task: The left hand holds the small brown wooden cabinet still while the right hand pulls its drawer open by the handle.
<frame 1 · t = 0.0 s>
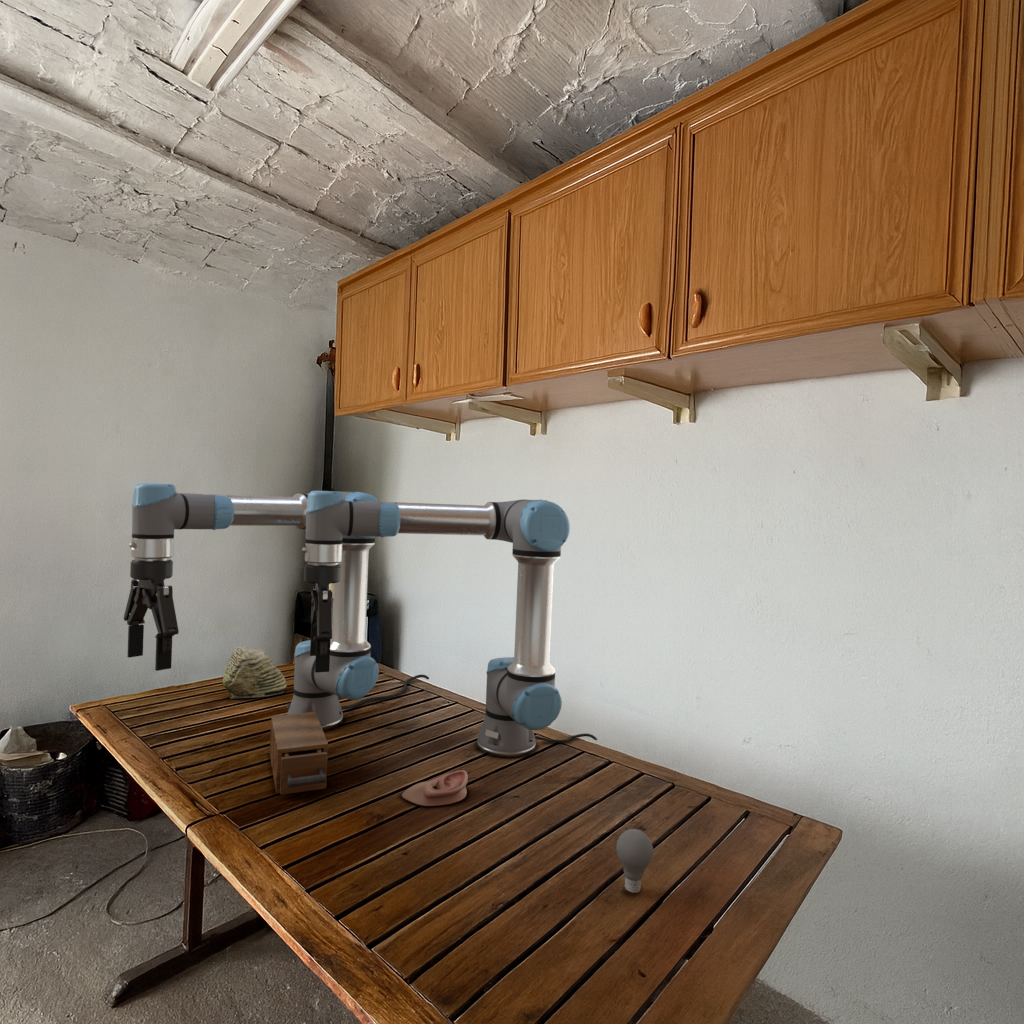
left hand: (148, 662, 129), 28 cm above the table, tool pointing down, fingers open, 13 cm apart
right hand: (319, 663, 134), 28 cm above the table, tool pointing down, fingers open, 13 cm apart
fossil: (254, 694, 198), on the table
drawer: (300, 760, 140), point 5 cm above the table, slide at 1.8 cm
anatomical model: (435, 795, 137), on the table
cabinet: (296, 769, 146), on the table
light bulb: (632, 891, 106), on the table
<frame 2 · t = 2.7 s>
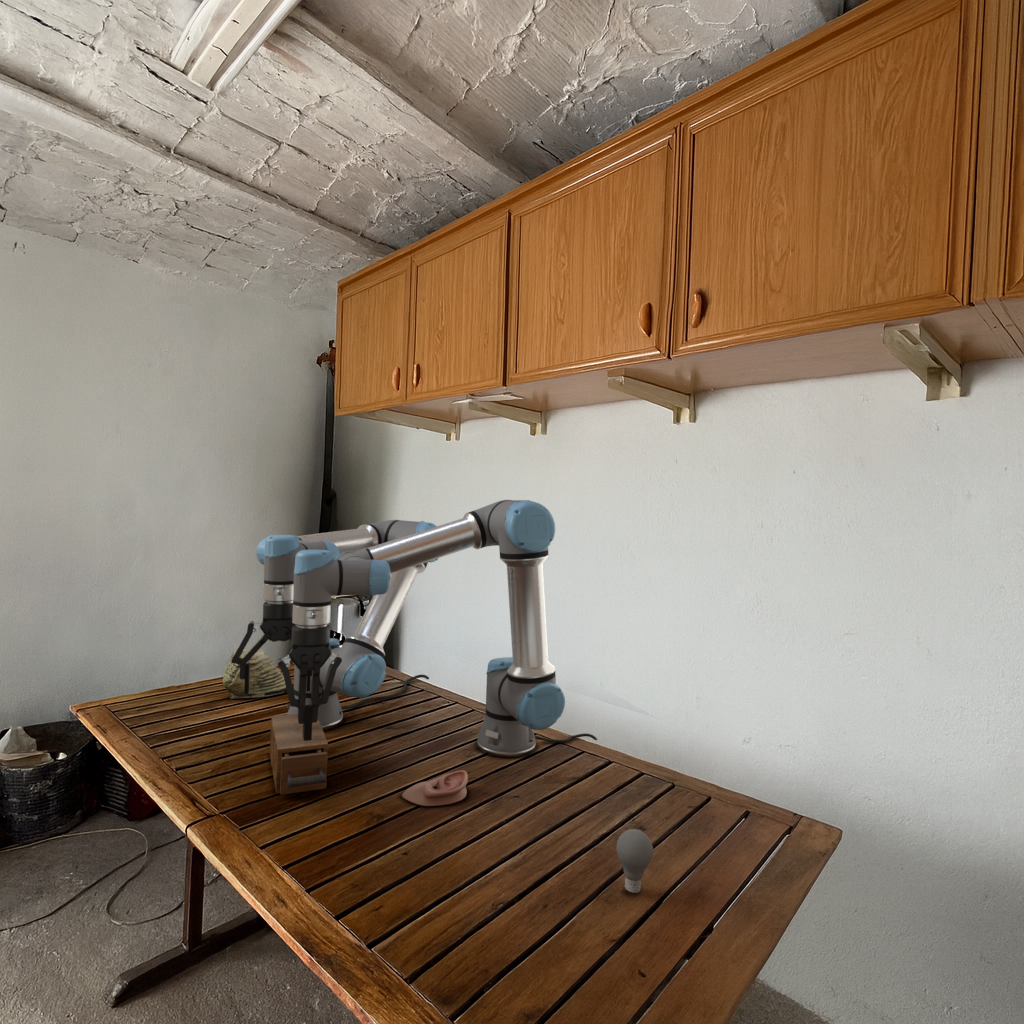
left hand: (277, 691, 149), 17 cm above the table, tool pointing down, fingers open, 13 cm apart
right hand: (306, 738, 131), 13 cm above the table, tool pointing down, fingers closed
nothing on the table moved.
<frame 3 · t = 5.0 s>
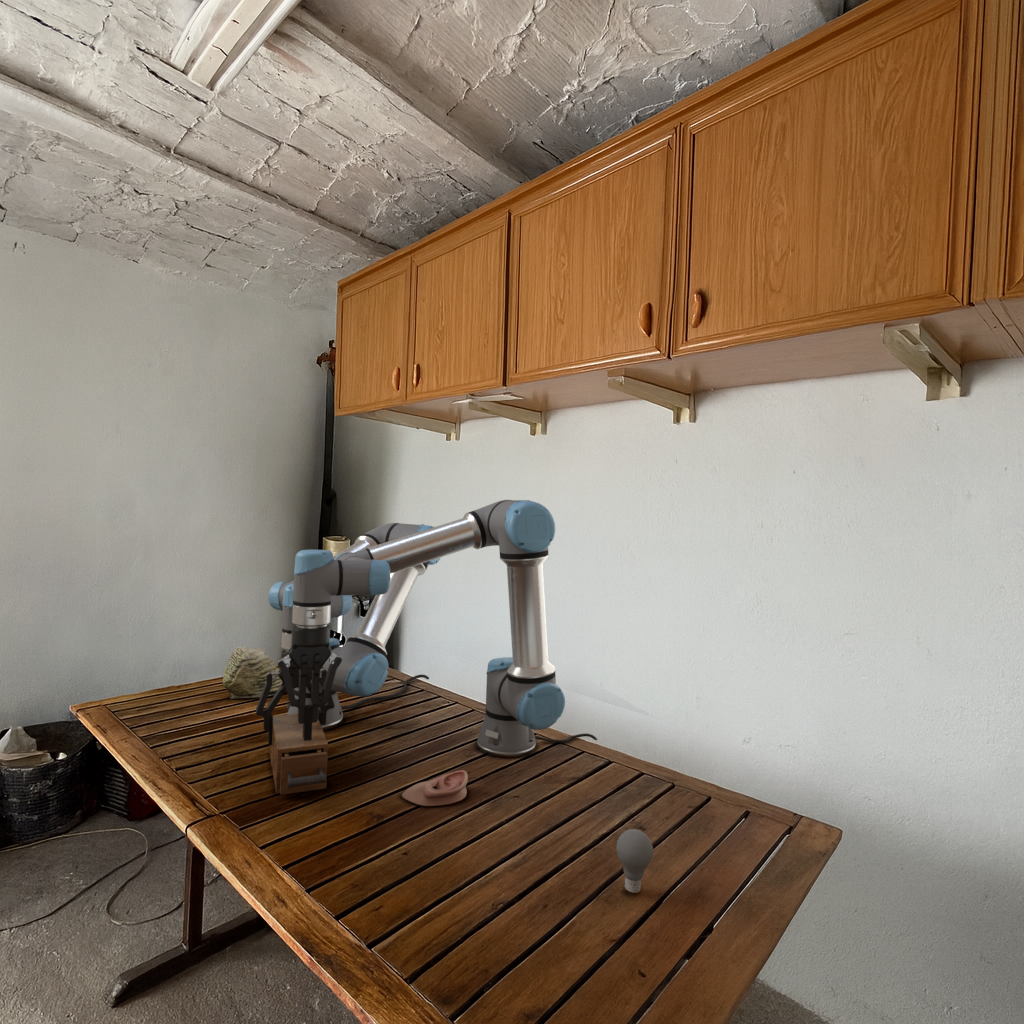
left hand: (294, 740, 152), 4 cm above the table, tool pointing down, fingers closed on cabinet, 10 cm apart
right hand: (306, 738, 131), 13 cm above the table, tool pointing down, fingers closed
cabinet: (296, 769, 146), on the table, touching left hand
everything else where it was.
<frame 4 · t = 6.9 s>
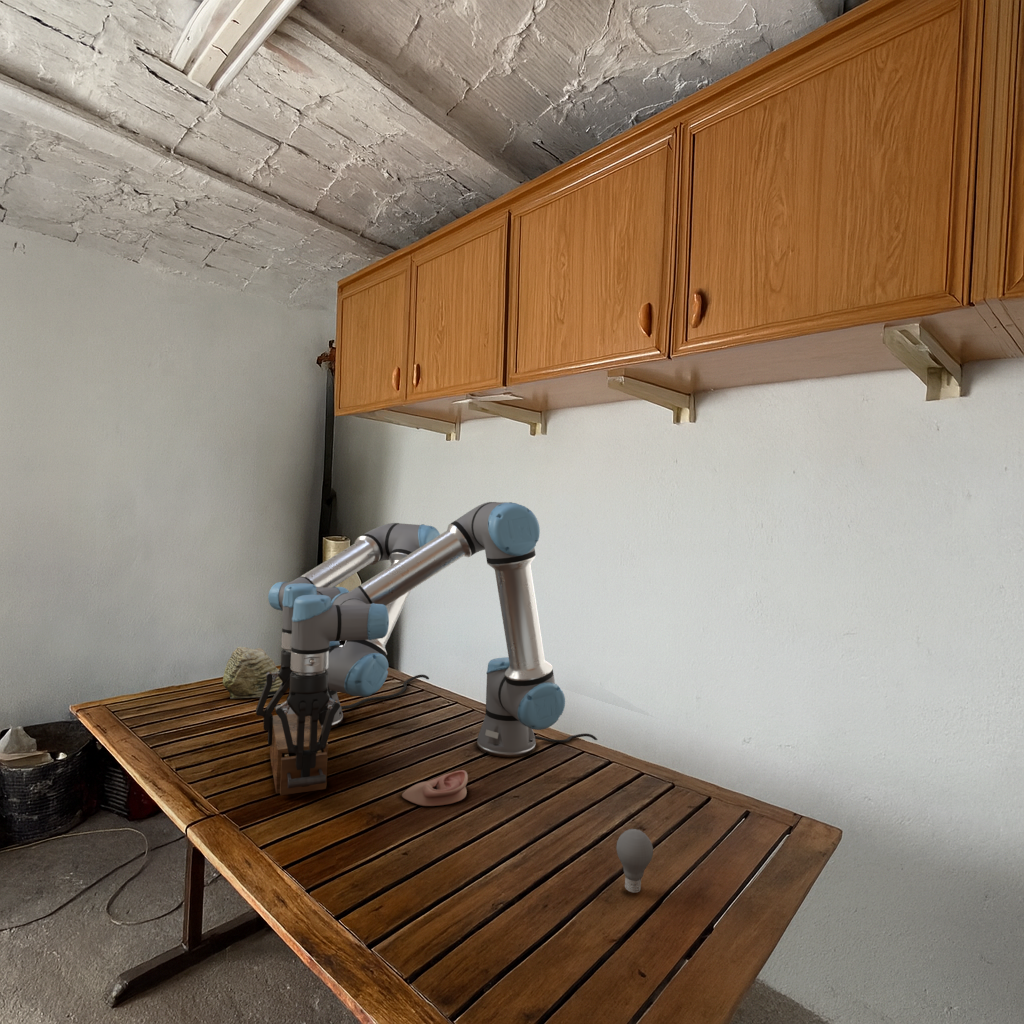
left hand: (294, 740, 152), 4 cm above the table, tool pointing down, fingers closed on cabinet, 10 cm apart
right hand: (304, 783, 131), 4 cm above the table, tool pointing down, fingers closed
drawer: (300, 760, 140), point 5 cm above the table, slide at 2.0 cm, touching right hand
cabinet: (296, 769, 146), on the table, touching left hand
everything else where it was.
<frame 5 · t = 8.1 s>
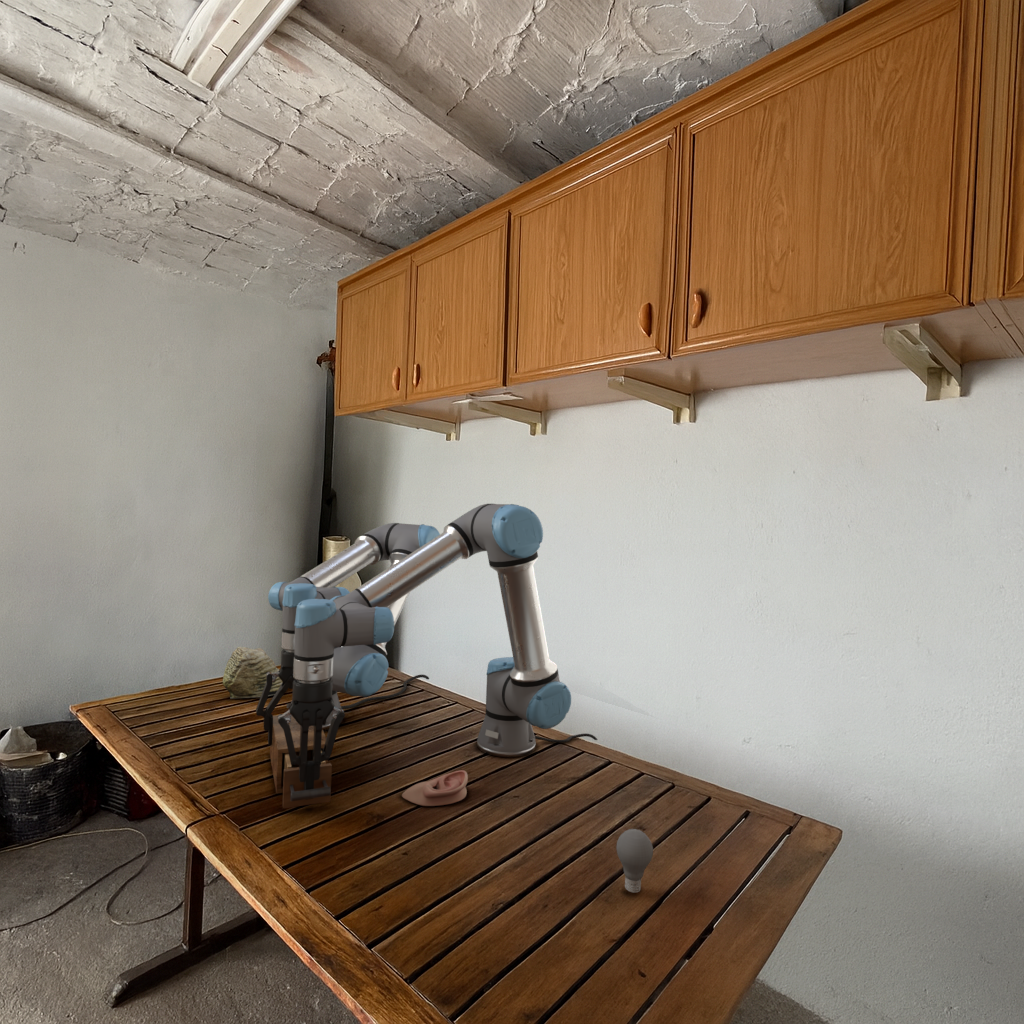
left hand: (294, 740, 152), 4 cm above the table, tool pointing down, fingers closed on cabinet, 10 cm apart
right hand: (308, 796, 126), 4 cm above the table, tool pointing down, fingers closed
drawer: (303, 771, 135), point 5 cm above the table, slide at 7.9 cm, touching right hand
cabinet: (296, 769, 146), on the table, touching left hand
everything else where it was.
when the left hand's fingers open (4 cm above the table, at t = 9.7 s): cabinet stays where it is, on the table.
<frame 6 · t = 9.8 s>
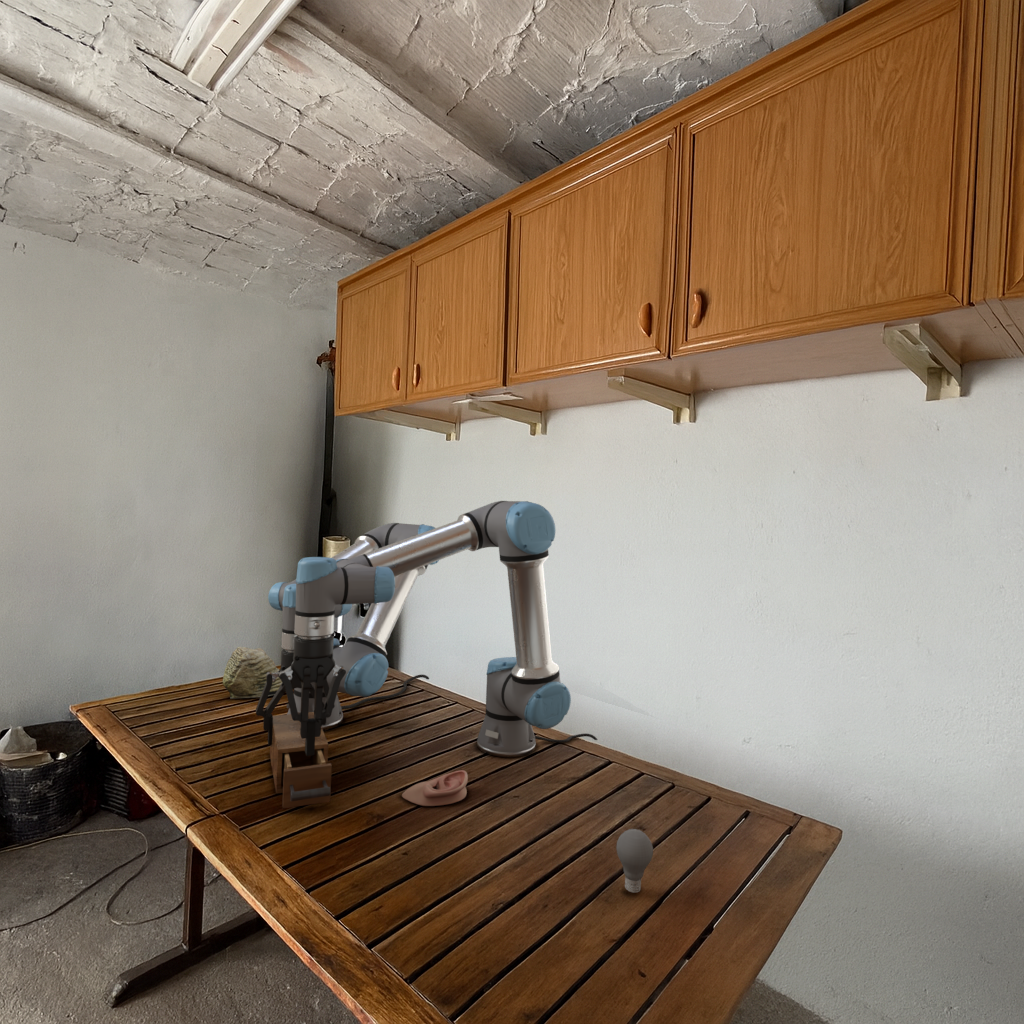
left hand: (294, 740, 152), 4 cm above the table, tool pointing down, fingers open, 10 cm apart
right hand: (309, 752, 126), 12 cm above the table, tool pointing down, fingers closed
drawer: (303, 771, 135), point 5 cm above the table, slide at 7.9 cm
cabinet: (296, 769, 146), on the table
everything else where it was.
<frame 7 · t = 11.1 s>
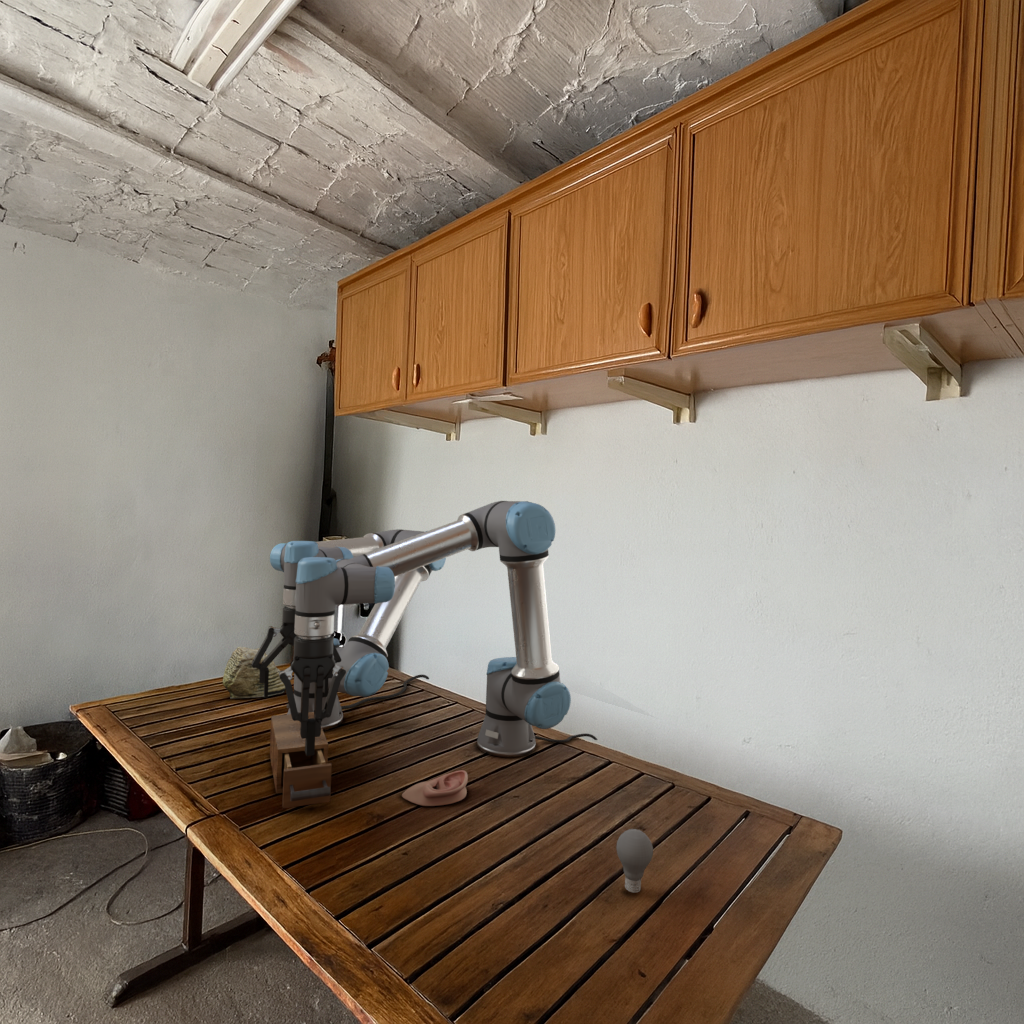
left hand: (296, 694, 152), 16 cm above the table, tool pointing down, fingers open, 13 cm apart
right hand: (309, 752, 126), 12 cm above the table, tool pointing down, fingers closed
nothing on the table moved.
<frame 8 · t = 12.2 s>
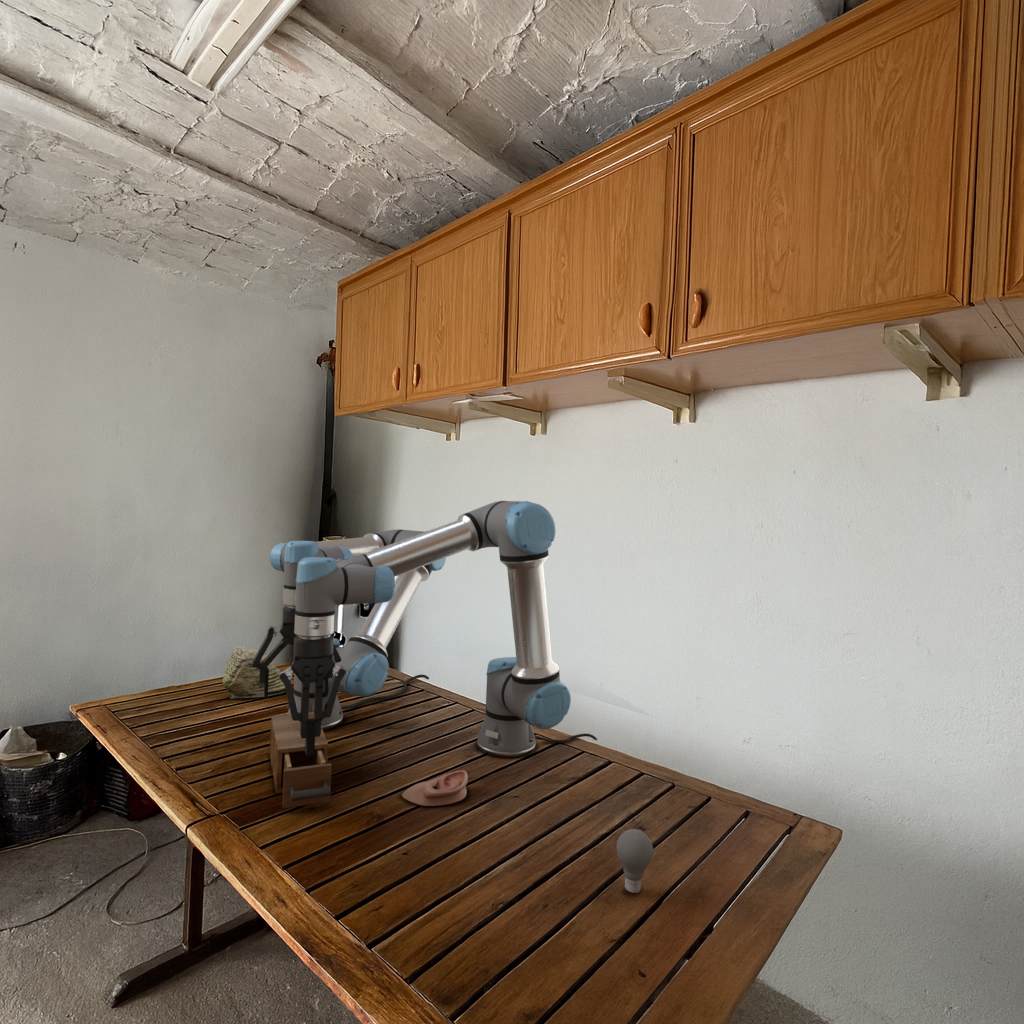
left hand: (296, 693, 152), 16 cm above the table, tool pointing down, fingers open, 13 cm apart
right hand: (309, 752, 126), 12 cm above the table, tool pointing down, fingers closed
nothing on the table moved.
at the end: drawer slide at 7.9 cm; cabinet tilted 0°; cabinet never tilted more than 1° during the clip; cabinet moved 0.0 cm from its start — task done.
